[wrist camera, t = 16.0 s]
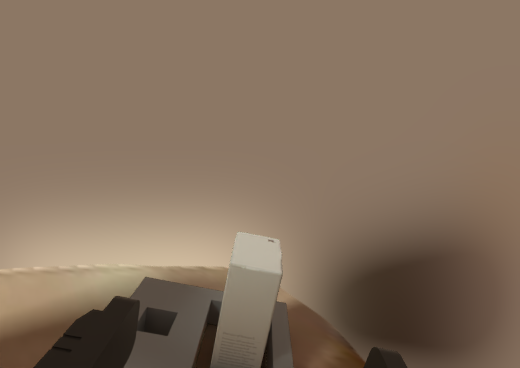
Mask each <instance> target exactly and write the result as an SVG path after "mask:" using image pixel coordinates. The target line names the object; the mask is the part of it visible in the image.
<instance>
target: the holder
mask: <svg viewBox="0 0 520 368" xmlns="http://www.w3.org/2000/svg"><path fill="white" fill-rule="evenodd" d="M223 295H224V291H218V290H213V289H207V288H202V287H197V286H191V285H186V284H181V283H175V282H170V281H165V280H159V279H154V278H149V277H145V278H144V280H143V281H142V282H141V284H140V285H139V286H138V288H137V289H136V290H135V292H134V293H133V295H132V296H131V297H130V299H136V300H139V301H140V309H139V316H138V324H137V332H136V339H135V343H134V346H133V349H132V352H131V354H130V357H129V359H128V361H127V362H126V364H125V366H124V368H195V365H196V361H197V358H198V354H199V350H200V347H201V343H202V340H203V336H204V332H205V329H206V325H207V323H208V324H213V325H218V321H219V316H220V311H221V305H222V300H223ZM266 368H294V367H293V358H292V349H291V341H290V332H289V323H288V314H287V305H286V303H282V302H277V301H276V305H275V309H274V313H273V317H272V321H271V326H270V330H269V334H268V338H267V342H266Z"/></svg>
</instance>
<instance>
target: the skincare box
mask: <svg viewBox="0 0 520 368" xmlns="http://www.w3.org/2000/svg"><path fill="white" fill-rule="evenodd" d="M282 274H283V271H282V252H281V246H280V240H279V239H274V238H269V237H264V236H259V235H254V234H250V233H243V232H237V236H236V239H235V242H234V247H233V251H232V256H231V260H230V264H229V269H228V274H227V279H226V285H225V290H224V295H223V300H222V305H221V311H220V316H219V321H218V327H217V332H216V338H215V343H214V348H213V354H212V359H211V365H210V368H260V367H261V363H262V359H263V355H264V350H265V346H266V342H267V338H268V334H269V330H270V326H271V321H272V317H273V313H274V309H275V305H276V300H277V296H278V292H279V287H280V283H281V279H282Z"/></svg>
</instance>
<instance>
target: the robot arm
mask: <svg viewBox="0 0 520 368" xmlns="http://www.w3.org/2000/svg"><path fill="white" fill-rule="evenodd" d="M139 309H140V301H139V300H136V299H130V298H125V297H120V296H116V297H114V298H113V299H112V301H111V302H110V303H109V304H108V306H107V307H106V308H105V309H104V311H99V310H94V309H93V310H92V311H90V312H88V313H87V314H85V315H83V316H82V317H80V318H79V319H77V320H76V321H75V322H74V323H73V324H72V325H71V326H70V327H69V329H68V330H67V331H66V332H65V333H64V335H63V337H61V338H60V339H59V340H58V341H57V342H56V343H55V344H54V345H53V347H52V349H51V350H49V351H48V352H47V353H46V354H45V355H44V357H43V358H42V359H41V360H40V361H39V362H38V363H37V364H36V366H35V367H34V368H124V366H125V364H126V362H127V361H128V359H129V357H130V354H131V352H132V349H133V346H134V343H135V339H136V332H137V324H138V316H139ZM364 368H407V366H406V364H405V362H404V361H403V359H402V357H401V355H400V354H399V353H398V352H397V351H392V350H388V349H383V348H377V347H373V348H372V349H371V351H370V353H369V356H368V358H367V361H366V363H365V366H364Z"/></svg>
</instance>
